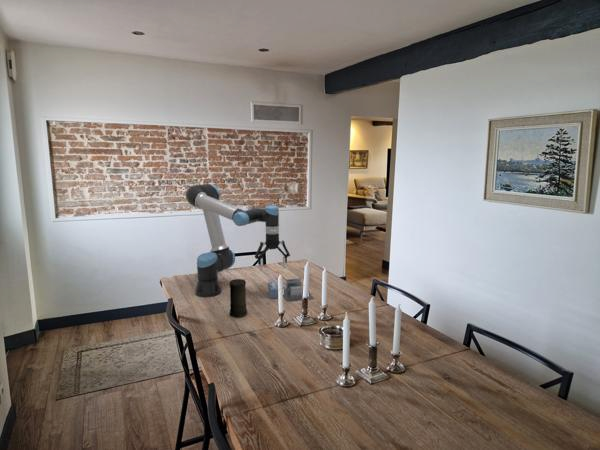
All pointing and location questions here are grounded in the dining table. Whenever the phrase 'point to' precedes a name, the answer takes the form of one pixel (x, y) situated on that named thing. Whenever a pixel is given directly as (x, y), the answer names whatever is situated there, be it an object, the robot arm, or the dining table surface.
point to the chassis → (294, 290)
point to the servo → (272, 289)
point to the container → (238, 298)
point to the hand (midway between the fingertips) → (272, 269)
